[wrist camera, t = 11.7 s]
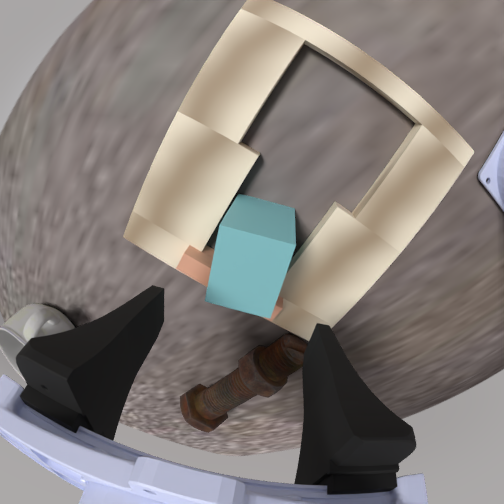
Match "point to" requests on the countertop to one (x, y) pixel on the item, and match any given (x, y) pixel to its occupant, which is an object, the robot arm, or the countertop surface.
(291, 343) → the bolt
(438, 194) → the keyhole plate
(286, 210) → the slider block
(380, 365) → the countertop surface
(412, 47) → the countertop surface
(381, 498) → the robot arm
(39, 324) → the teacup
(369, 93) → the countertop surface
